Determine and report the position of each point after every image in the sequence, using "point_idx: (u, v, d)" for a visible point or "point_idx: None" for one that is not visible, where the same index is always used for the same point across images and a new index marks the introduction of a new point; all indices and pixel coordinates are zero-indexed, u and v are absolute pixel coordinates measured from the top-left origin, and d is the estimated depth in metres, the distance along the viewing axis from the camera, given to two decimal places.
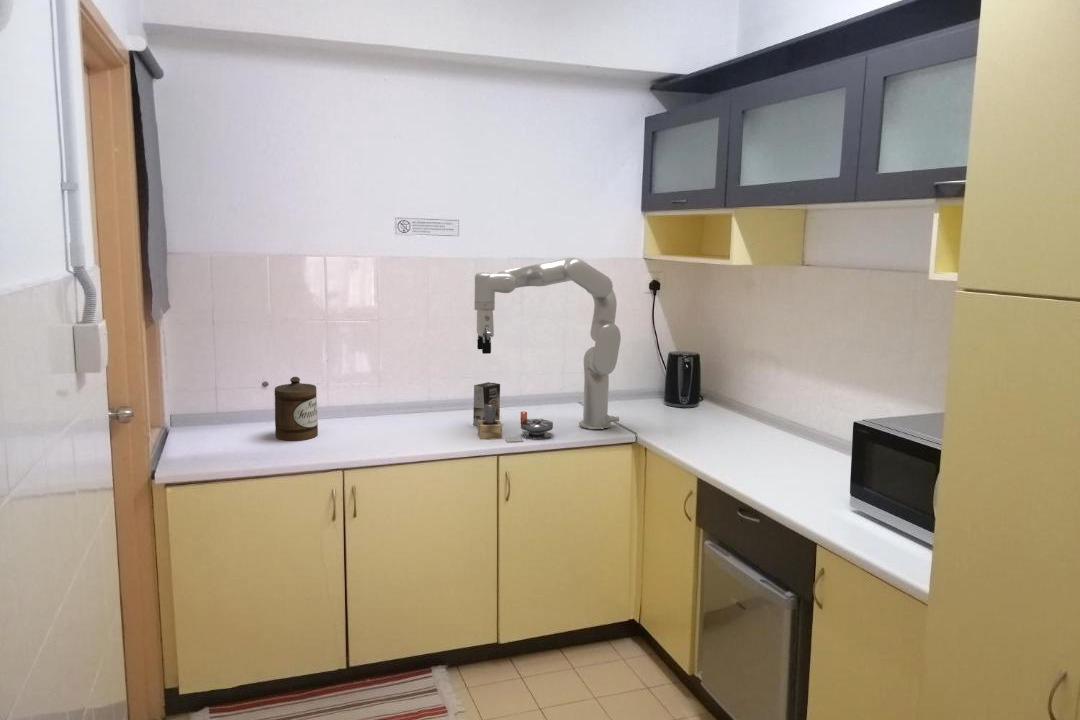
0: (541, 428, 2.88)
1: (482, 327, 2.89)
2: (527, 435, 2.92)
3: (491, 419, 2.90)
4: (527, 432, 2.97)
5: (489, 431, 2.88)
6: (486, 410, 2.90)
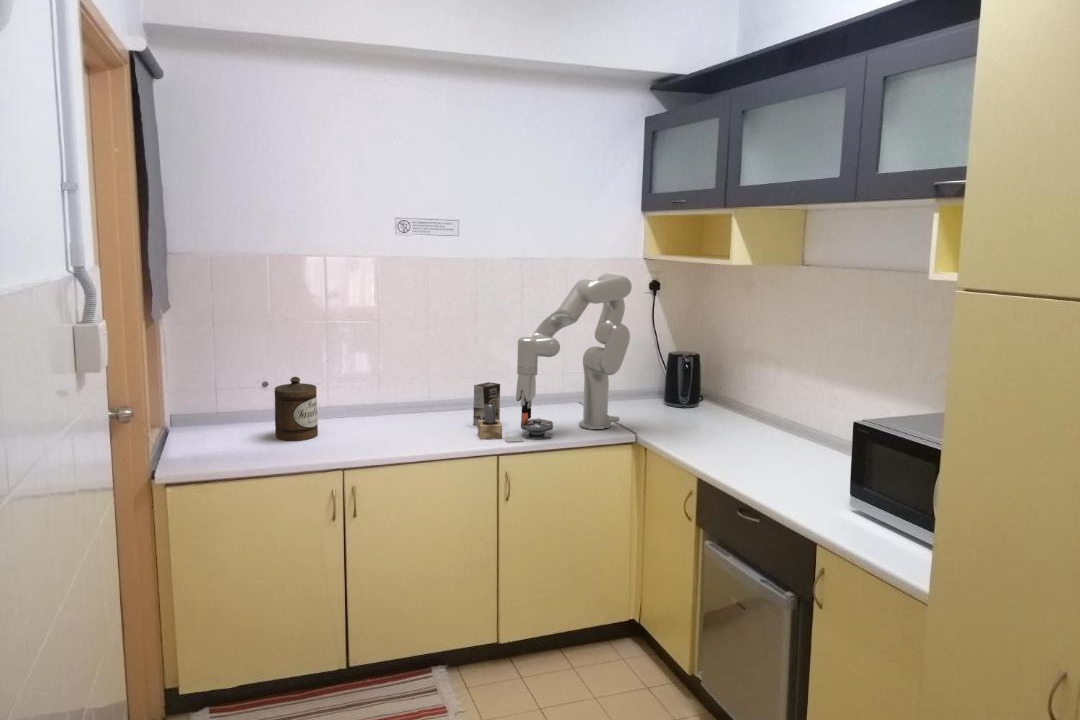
0: (544, 428, 2.89)
1: None
2: (527, 435, 2.92)
3: (491, 419, 2.90)
4: (527, 432, 2.97)
5: (489, 431, 2.88)
6: (486, 410, 2.90)
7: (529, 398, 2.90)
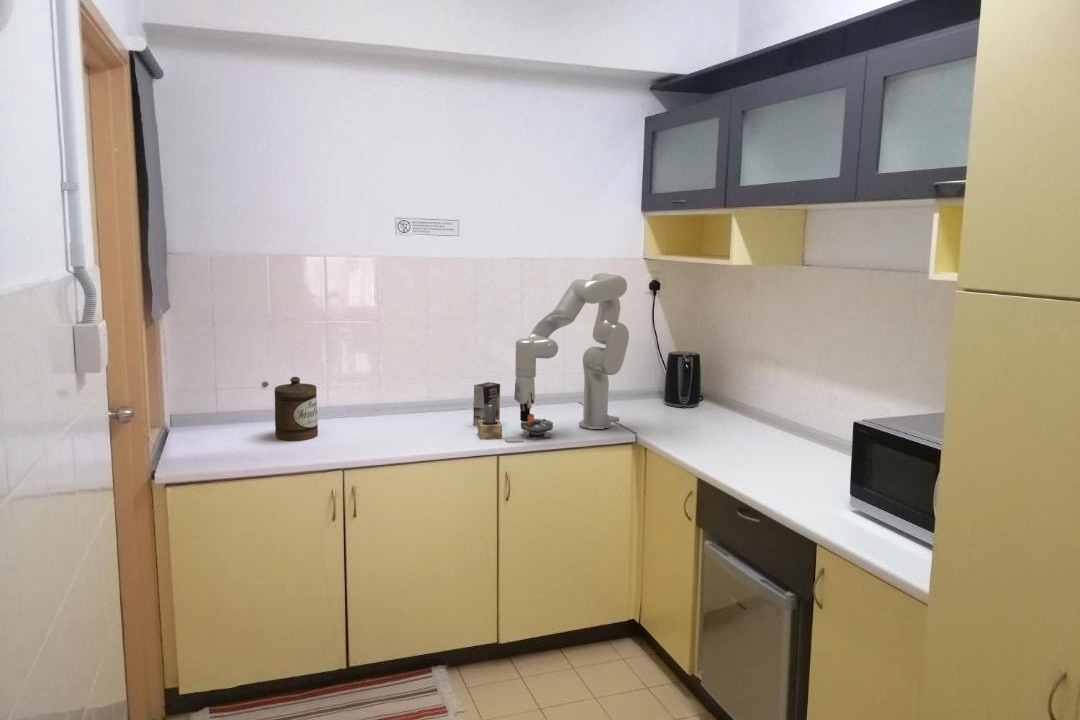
0: (551, 426, 2.92)
1: None
2: (527, 435, 2.92)
3: (491, 419, 2.90)
4: (527, 432, 2.97)
5: (489, 431, 2.88)
6: (486, 410, 2.90)
7: None
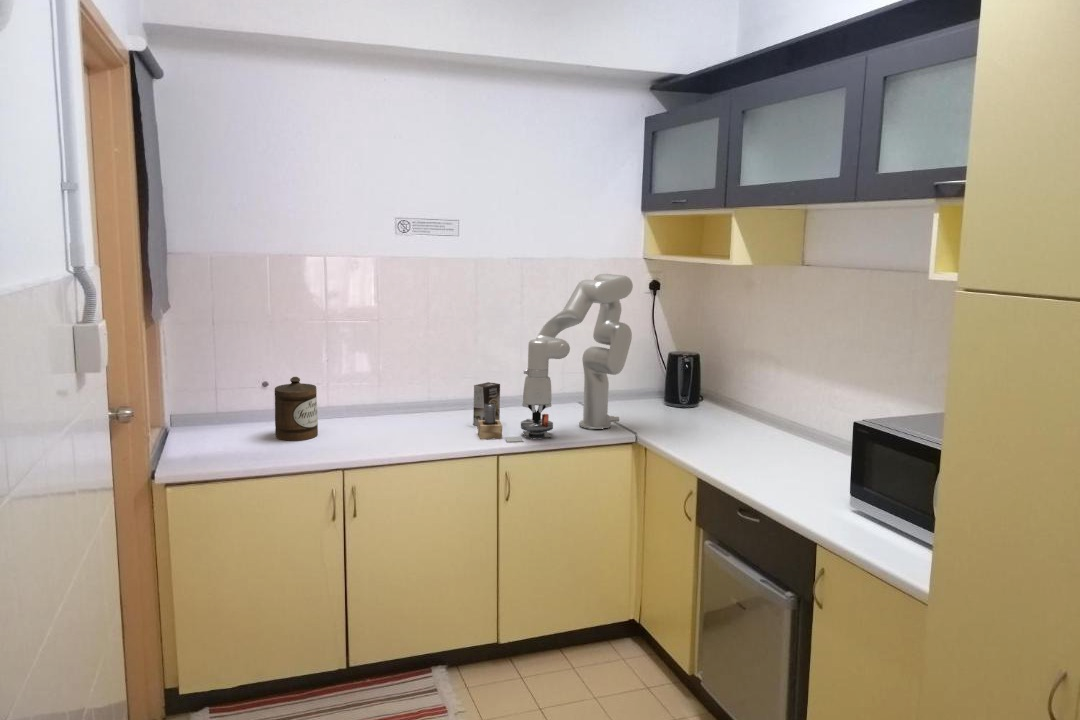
0: None
1: None
2: (527, 435, 2.92)
3: (491, 419, 2.90)
4: (527, 432, 2.97)
5: (489, 431, 2.88)
6: (486, 410, 2.90)
7: None
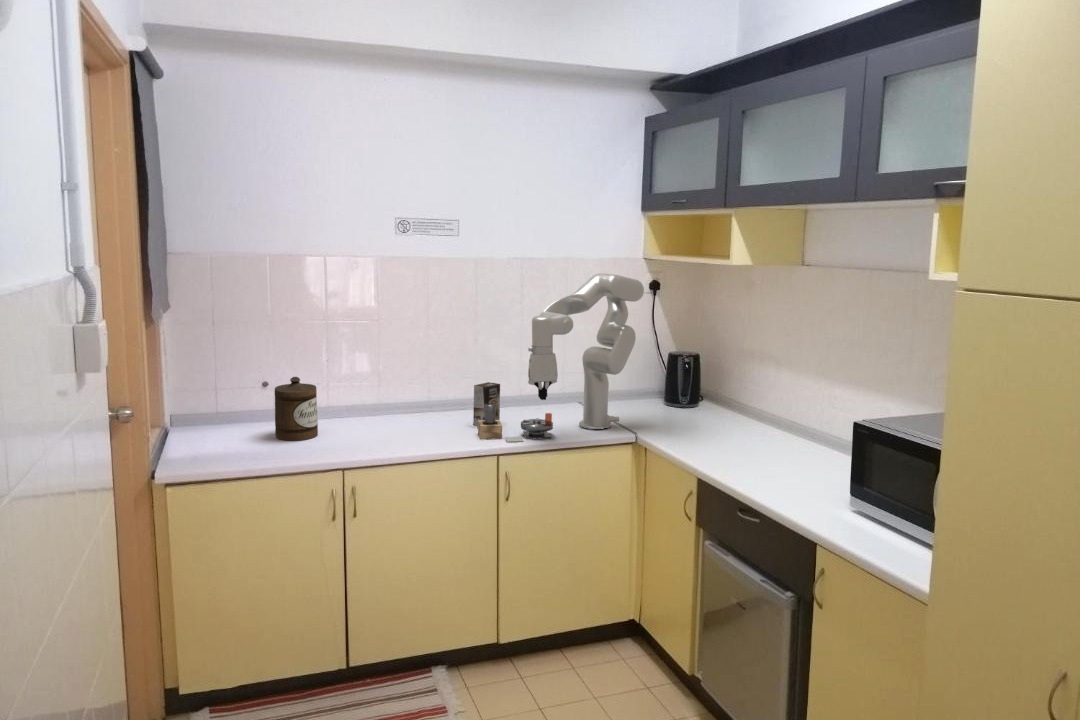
0: None
1: (528, 369, 2.86)
2: (527, 435, 2.92)
3: (491, 419, 2.90)
4: (527, 432, 2.97)
5: (489, 431, 2.88)
6: (486, 410, 2.90)
7: None
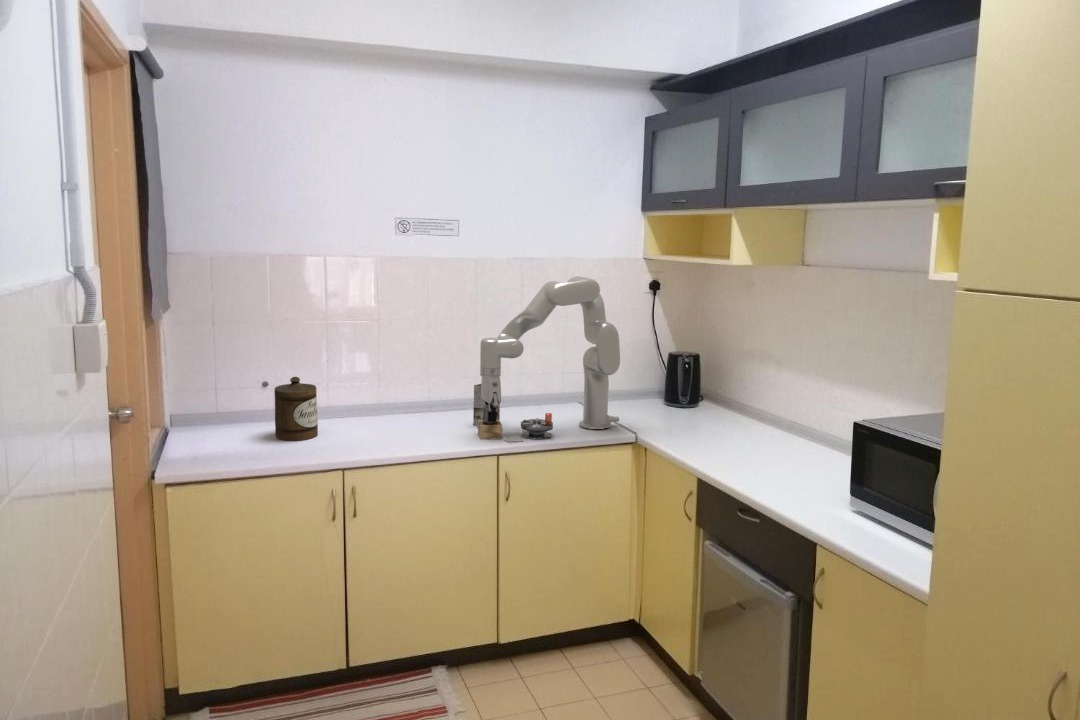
0: None
1: (490, 394, 2.85)
2: (527, 435, 2.92)
3: None
4: (527, 432, 2.97)
5: (489, 431, 2.88)
6: (486, 410, 2.90)
7: (482, 396, 2.92)
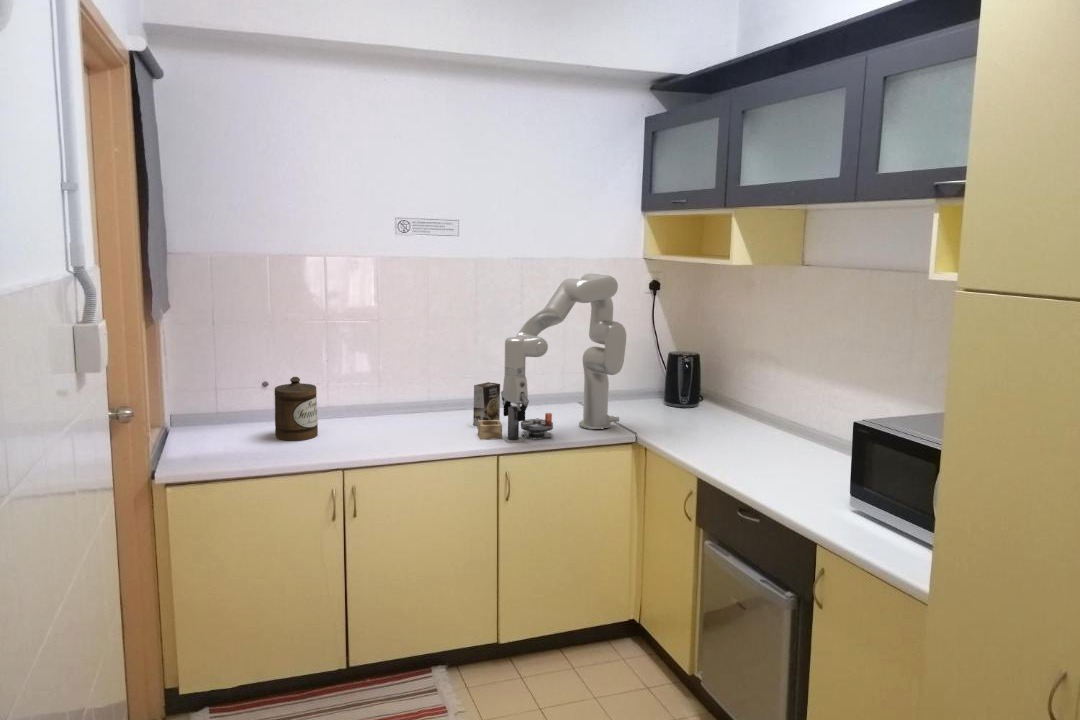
0: None
1: (518, 394, 2.80)
2: (527, 435, 2.92)
3: (516, 421, 2.85)
4: (527, 432, 2.97)
5: (489, 431, 2.88)
6: (510, 412, 2.85)
7: (504, 397, 2.87)
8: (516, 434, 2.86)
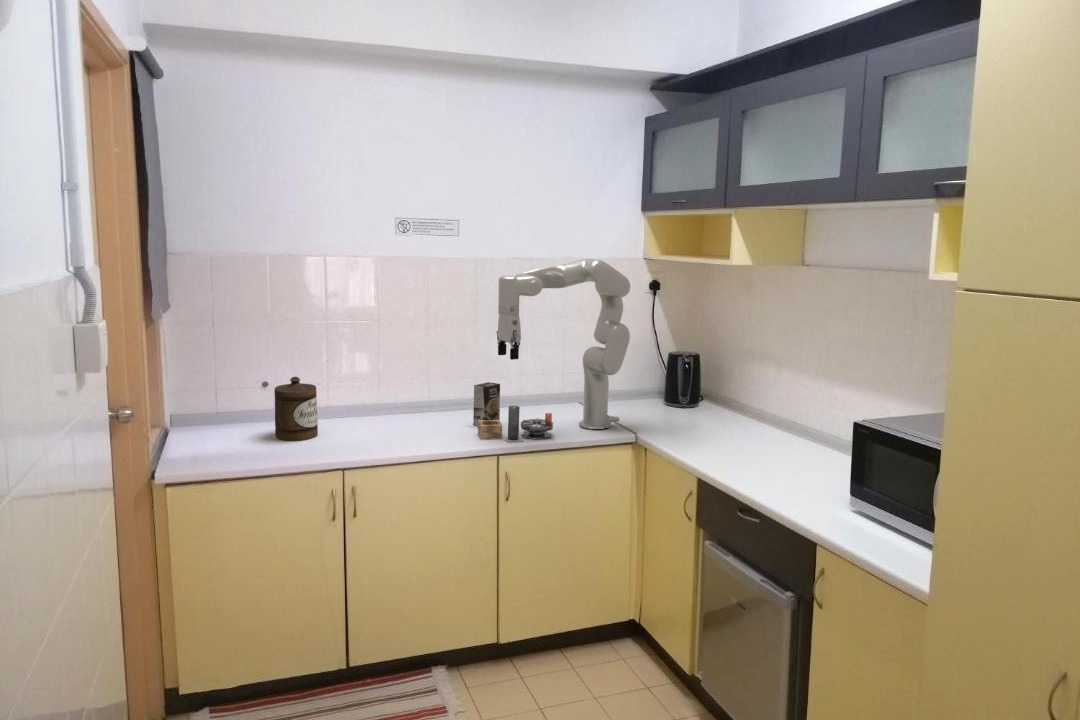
0: None
1: (510, 332, 2.79)
2: (527, 435, 2.92)
3: (516, 421, 2.85)
4: (527, 432, 2.97)
5: (489, 431, 2.88)
6: (511, 413, 2.85)
7: (499, 336, 2.86)
8: (516, 434, 2.86)
